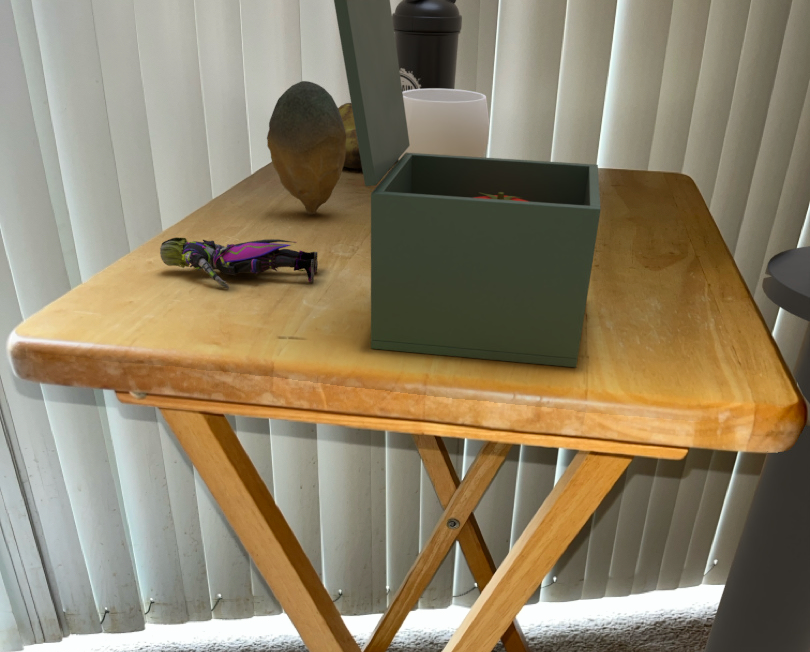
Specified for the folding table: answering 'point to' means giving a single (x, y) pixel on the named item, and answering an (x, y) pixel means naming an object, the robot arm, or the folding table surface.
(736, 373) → the folding table surface
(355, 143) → the potato
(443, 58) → the water bottle
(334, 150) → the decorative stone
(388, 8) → the lid
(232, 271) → the character figure
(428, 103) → the cup
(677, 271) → the folding table surface
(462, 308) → the storage box
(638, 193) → the folding table surface
